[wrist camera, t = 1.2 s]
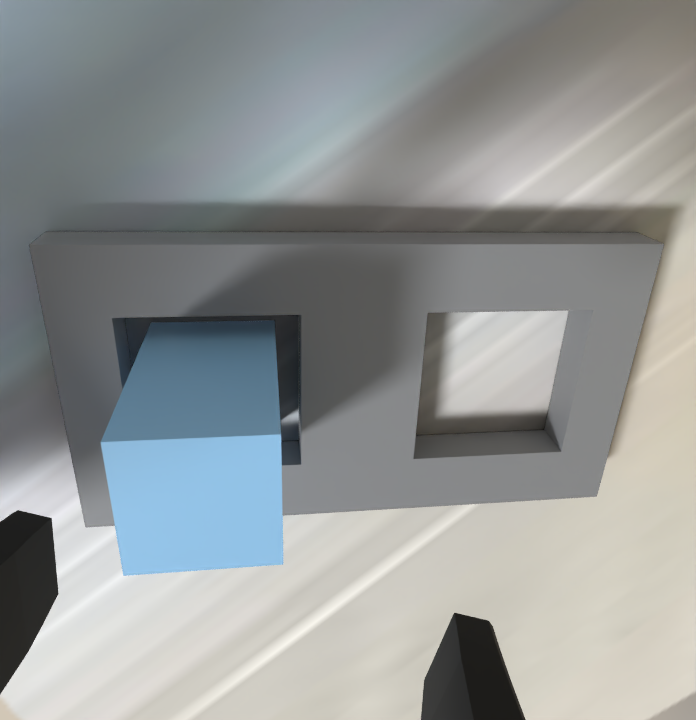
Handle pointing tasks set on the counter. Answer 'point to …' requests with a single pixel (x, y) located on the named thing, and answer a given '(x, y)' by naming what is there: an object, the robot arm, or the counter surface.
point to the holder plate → (360, 349)
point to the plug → (198, 450)
